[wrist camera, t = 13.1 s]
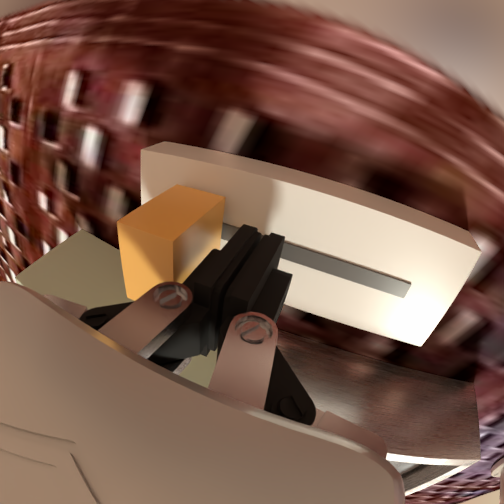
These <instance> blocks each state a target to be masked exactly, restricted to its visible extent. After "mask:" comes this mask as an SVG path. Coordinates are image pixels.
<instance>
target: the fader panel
mask: <svg viewBox="0 0 504 504" xmlns="http://www.w3.org/2000/svg"><path fill="white" fill-rule="evenodd" d="M177 184H178V185H182V186H186V187H190V188H194V189H197V190H201V191H205V192H209V193H213V194H216V195H220V196H224V197H226V198H225V206H224V215H223V224H222V233H221V242H220V250H221V249H222V248H223V247H224V246H225V245H226V243H227V242H228V241H229V240H230V239H231V238H232V236H233V235H234V234H235V233H236V232H237V231H238V230H239V228H240V227H241V226H242V225H243V224H246V225H249V226H253V227H256V228H257V229H258V232H260V233H261V239H262V238H263V236H264V235H265V234H266V235H270V233H271V232H272V233H275V234H279V235H282V236H285V240H284V244H283V249H282V253H281V257H280V261H279V265H278V270H281V271H284V272H287V273H291V274H293V276H292V280H291V283H290V287H289V290H288V293H287V296H286V299H285V302H284V304H285V305H288V306H291V307H294V308H297V309H300V310H303V311H306V312H309V313H312V314H315V315H318V316H321V317H324V318H327V319H330V320H333V321H337V322H340V323H343V324H346V325H349V326H353V327H356V328H359V329H362V330H365V331H369V332H372V333H375V334H379V335H382V336H385V337H389V338H392V339H395V340H399V341H402V342H406V343H409V344H413V345H416V346H420V347H421V346H422V345H423V343H424V342H425V341H426V339H427V338H428V337H429V335H430V334H431V333H432V331H433V330H434V329H435V327H436V326H437V324H438V323H439V322H440V320H441V319H442V317H443V316H444V314H445V313H446V311H447V310H448V308H449V307H450V305H451V304H452V302H453V301H454V299H455V298H456V296H457V294H458V293H459V291H460V290H461V288H462V286H463V285H464V283H465V281H466V280H467V278H468V276H469V274H470V273H471V271H472V269H473V267H474V266H475V264H476V262H477V260H478V258H479V256H480V254H481V250H480V248H479V247H478V245H477V244H476V242H475V240H474V239H473V237H472V236H471V234H470V232H469V231H467V230H464V229H462V228H460V227H458V226H455V225H453V224H451V223H448V222H446V221H444V220H441V219H439V218H436V217H434V216H431V215H429V214H427V213H424V212H421V211H419V210H416V209H414V208H411V207H409V206H406V205H403V204H401V203H398V202H395V201H392V200H390V199H387V198H384V197H381V196H378V195H375V194H373V193H370V192H367V191H364V190H361V189H358V188H355V187H351V186H348V185H345V184H342V183H339V182H336V181H332V180H329V179H326V178H322V177H319V176H316V175H312V174H309V173H305V172H302V171H298V170H294V169H291V168H287V167H283V166H279V165H275V164H271V163H268V162H263V161H259V160H255V159H251V158H247V157H242V156H238V155H234V154H229V153H224V152H220V151H215V150H210V149H205V148H200V147H195V146H189V145H184V144H178V143H172V142H166V141H164V142H161V143H158V144H155V145H152V146H149V147H147V148H144V149H141V206H142V205H143V204H145V203H146V202H148V201H150V200H151V199H153V198H155V197H156V196H158V195H160V194H161V193H163V192H165V191H166V190H168V189H170V188H172V187H173V186H175V185H177ZM260 241H261V240H260Z"/></svg>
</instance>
